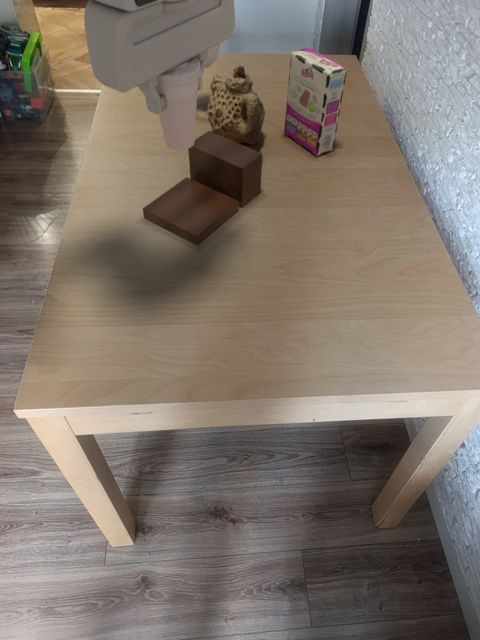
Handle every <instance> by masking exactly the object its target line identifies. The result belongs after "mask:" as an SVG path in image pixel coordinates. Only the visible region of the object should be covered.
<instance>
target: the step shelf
mask: <svg viewBox="0 0 480 640" xmlns="http://www.w3.org/2000/svg"><path fill="white" fill-rule="evenodd" d="M187 150H188V151H187V152H188V163H189V176H190V177H185V178H183V179H182V180H181V181H179V182H178V183H176V184H175V185H173V186H172V187H171V188H169V189H168V190H166V191H165V192H164V193H162V194H160V195H159V196H158V197H157V198H155V199H154V200H152V201H151V202H150V203H148V204H146V206H144V207H142V213H143V218H144V219H145V220H147V221H149V222H151V223H152V224H155V225H157V226H159V227H161V228H163V229H165V230H167V231H169V232H171V233H173V234H174V235H176V236H178V237H179V238H182V239H184V240H186V241H188V242H190V243H192V244H194V245H196V246H198V245H200V244H201V243H203V241H204V240H206V239H207V238H208V237H209V236H210V235H212V234H213V233H214V232H215V231H216V230H218V229H219V228H220V227H221V226H222V225H224V223H226V222H228V220H230V218H232V217H233V216H234V215H235V214H236V213H238V212H239V210H240V208H244V207H245V206H246V205H247V204H248V203H250V202H251V201H252V200H254V199H255V198H256V197H257V196H258V195H259V194H260V193H261V189H262V170H263V152H260V151H258V150H256V149H253V148H251V147H249V146H246V145H243V144H239V143H236V142H234V141H232V140H229V139H227V138H224V137H222V136H220V135H217V134H216V133H215V132H213V131H211V130H208V131H206V132H205V133H204V134H202V135H200V136H199V137H197V138H196V139H195V142H194V145H193V146H192V147H190V148H188V149H187Z"/></svg>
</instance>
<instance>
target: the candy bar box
mask: <svg viewBox="0 0 480 640" xmlns="http://www.w3.org/2000/svg"><path fill="white" fill-rule="evenodd" d="M289 62H290V63H289V75H288V85H287V96H286V107H285V108H286V109H285V116H284V117H285V119H284V129H283V134H284V135H285V136H286V137H288V138H290V139H291V140H292V141H294V142H295V143H297V144H298V145H299V146H301V147H302V148H304V149H306V151H308V152H310V153H311V154H312V155H314V156H316V157H319V156H322V155H325V154H328V153H331V152H332V151H334V147H335V141H336V136H337V130H338V125H339V118H340V113H341V107H342V101H343V96H344V90H345V83H346V79H347V73H348V68H347V67H345V66H344V65H342V64H340V63H338V62H336V61H334V60H332V59H331V58H329V57H327V56H325V55H323V54H322V53H320V52H318V51H316V50H314V49H313V48H310V47H306V48H302V49H299V50H296V51H291V53H290V61H289Z"/></svg>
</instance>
